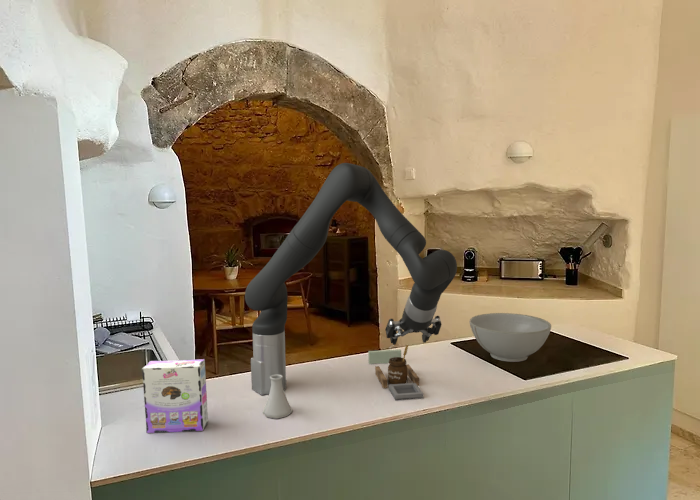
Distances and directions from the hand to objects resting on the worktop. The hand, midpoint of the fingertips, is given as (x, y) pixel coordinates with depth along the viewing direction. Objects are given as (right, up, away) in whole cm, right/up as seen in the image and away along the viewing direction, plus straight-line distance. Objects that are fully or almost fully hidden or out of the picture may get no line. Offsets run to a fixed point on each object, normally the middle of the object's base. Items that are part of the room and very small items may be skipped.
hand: (408, 340), depth 140 cm
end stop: (-4, -13, +31) cm, 34 cm away
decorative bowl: (+39, -12, +36) cm, 54 cm away
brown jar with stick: (-2, -15, +13) cm, 20 cm away
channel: (-2, -15, +15) cm, 21 cm away
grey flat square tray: (0, -16, +4) cm, 16 cm away
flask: (-35, -18, -7) cm, 40 cm away
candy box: (-59, -19, -14) cm, 63 cm away
